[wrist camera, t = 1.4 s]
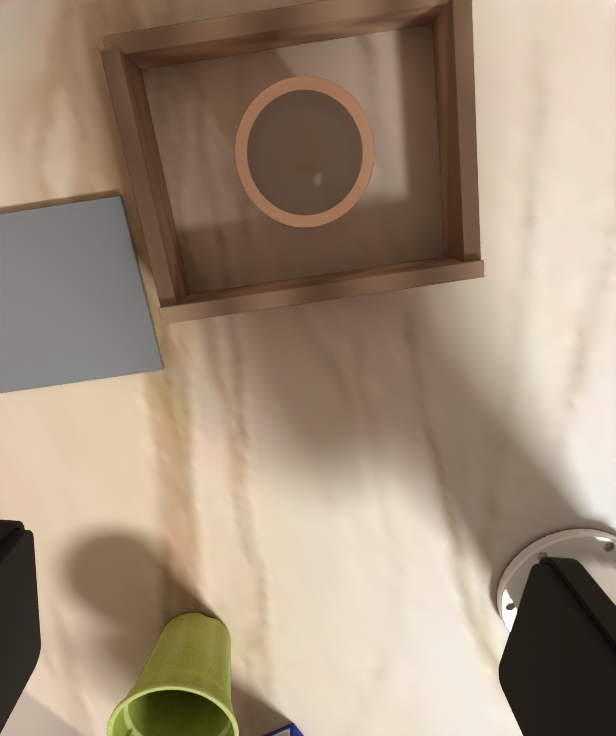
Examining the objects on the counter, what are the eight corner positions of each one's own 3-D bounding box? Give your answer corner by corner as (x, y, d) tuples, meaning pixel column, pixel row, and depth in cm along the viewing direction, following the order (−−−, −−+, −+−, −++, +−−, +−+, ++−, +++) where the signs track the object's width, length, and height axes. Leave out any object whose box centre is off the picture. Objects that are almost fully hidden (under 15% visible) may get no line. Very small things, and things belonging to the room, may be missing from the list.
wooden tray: (447, 1, 29) (474, -35, 25) (460, 269, 34) (484, 276, 30) (120, 53, 30) (91, 26, 25) (178, 310, 34) (162, 324, 30)
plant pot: (122, 616, 42) (81, 714, 34) (220, 580, 42) (202, 671, 33) (173, 690, 45) (146, 797, 37) (266, 657, 44) (259, 759, 36)
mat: (122, 196, 32) (119, 195, 32) (164, 368, 36) (162, 369, 35) (-57, 223, 32) (-61, 223, 32) (3, 391, 36) (0, 393, 36)
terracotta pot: (349, 101, 31) (367, 65, 23) (361, 216, 33) (381, 216, 25) (239, 118, 31) (222, 87, 23) (258, 231, 33) (248, 236, 26)
